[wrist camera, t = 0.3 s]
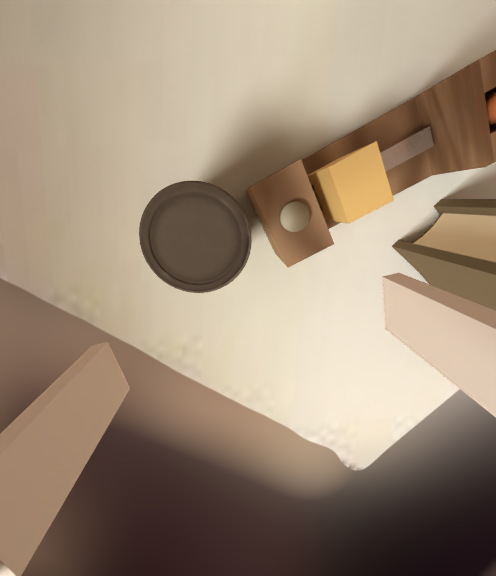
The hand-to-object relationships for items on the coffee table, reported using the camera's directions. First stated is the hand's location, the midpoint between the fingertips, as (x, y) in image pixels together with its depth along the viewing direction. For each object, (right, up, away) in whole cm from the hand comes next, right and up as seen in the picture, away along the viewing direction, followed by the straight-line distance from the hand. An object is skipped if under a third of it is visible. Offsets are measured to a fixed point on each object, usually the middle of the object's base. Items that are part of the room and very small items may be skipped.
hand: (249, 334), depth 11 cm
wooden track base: (+15, +18, +23) cm, 33 cm away
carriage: (+11, +16, +22) cm, 29 cm away
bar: (+15, +18, +22) cm, 32 cm away
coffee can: (-6, +11, +24) cm, 27 cm away
